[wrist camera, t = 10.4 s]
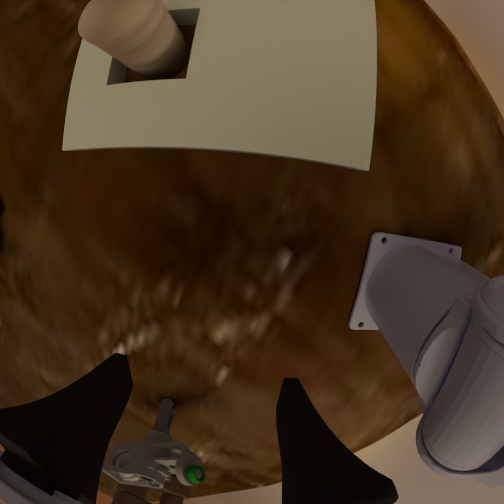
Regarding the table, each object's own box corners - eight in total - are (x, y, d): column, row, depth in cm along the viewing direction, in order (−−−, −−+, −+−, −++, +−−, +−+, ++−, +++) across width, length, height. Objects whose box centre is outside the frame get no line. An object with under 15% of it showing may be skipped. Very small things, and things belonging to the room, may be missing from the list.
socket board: (362, 6, 13) (373, -8, 10) (354, 169, 17) (368, 170, 15) (114, -1, 12) (101, -13, 10) (81, 150, 17) (62, 150, 14)
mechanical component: (219, 405, 24) (207, 490, 15) (141, 415, 25) (115, 483, 16) (205, 386, 23) (187, 476, 14) (126, 398, 25) (95, 468, 15)
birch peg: (194, 32, 14) (160, -29, 6) (187, 79, 15) (143, 32, 8) (142, 38, 14) (90, -9, 6) (134, 84, 15) (70, 50, 8)
